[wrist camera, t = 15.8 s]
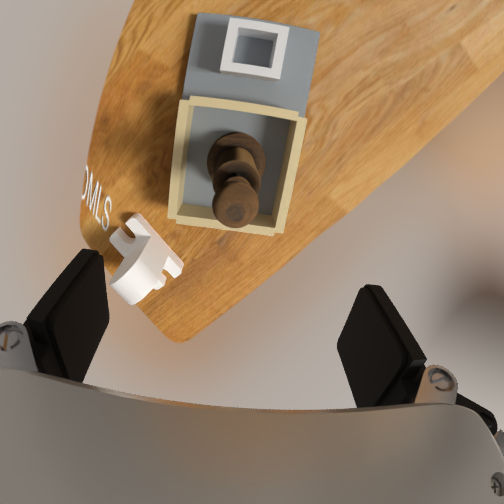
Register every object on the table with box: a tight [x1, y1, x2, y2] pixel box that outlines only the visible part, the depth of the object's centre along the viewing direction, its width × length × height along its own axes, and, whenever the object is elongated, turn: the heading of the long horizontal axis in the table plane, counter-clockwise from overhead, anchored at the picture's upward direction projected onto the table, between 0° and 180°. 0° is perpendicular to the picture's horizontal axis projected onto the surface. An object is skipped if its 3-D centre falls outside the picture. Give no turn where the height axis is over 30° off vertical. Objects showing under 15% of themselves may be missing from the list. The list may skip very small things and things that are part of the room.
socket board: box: [168, 13, 320, 236], centre depth 31 cm, size 14×24×5 cm, turn 171°
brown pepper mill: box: [207, 132, 266, 228], centre depth 26 cm, size 7×6×18 cm
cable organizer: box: [109, 213, 183, 305], centre depth 36 cm, size 5×10×10 cm, turn 35°
